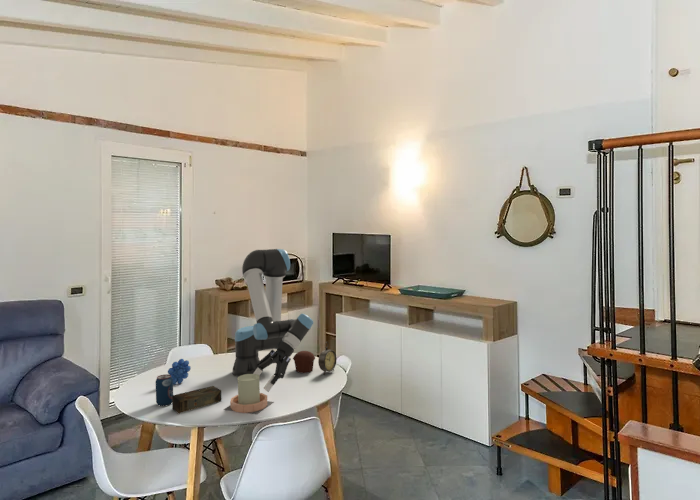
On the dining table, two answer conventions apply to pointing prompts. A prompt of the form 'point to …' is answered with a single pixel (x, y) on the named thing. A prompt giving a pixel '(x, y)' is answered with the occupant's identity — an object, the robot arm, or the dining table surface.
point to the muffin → (304, 361)
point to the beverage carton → (195, 399)
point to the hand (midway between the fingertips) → (258, 385)
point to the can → (248, 389)
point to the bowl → (249, 407)
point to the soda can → (164, 390)
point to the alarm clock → (327, 360)
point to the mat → (252, 412)
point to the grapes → (179, 371)
